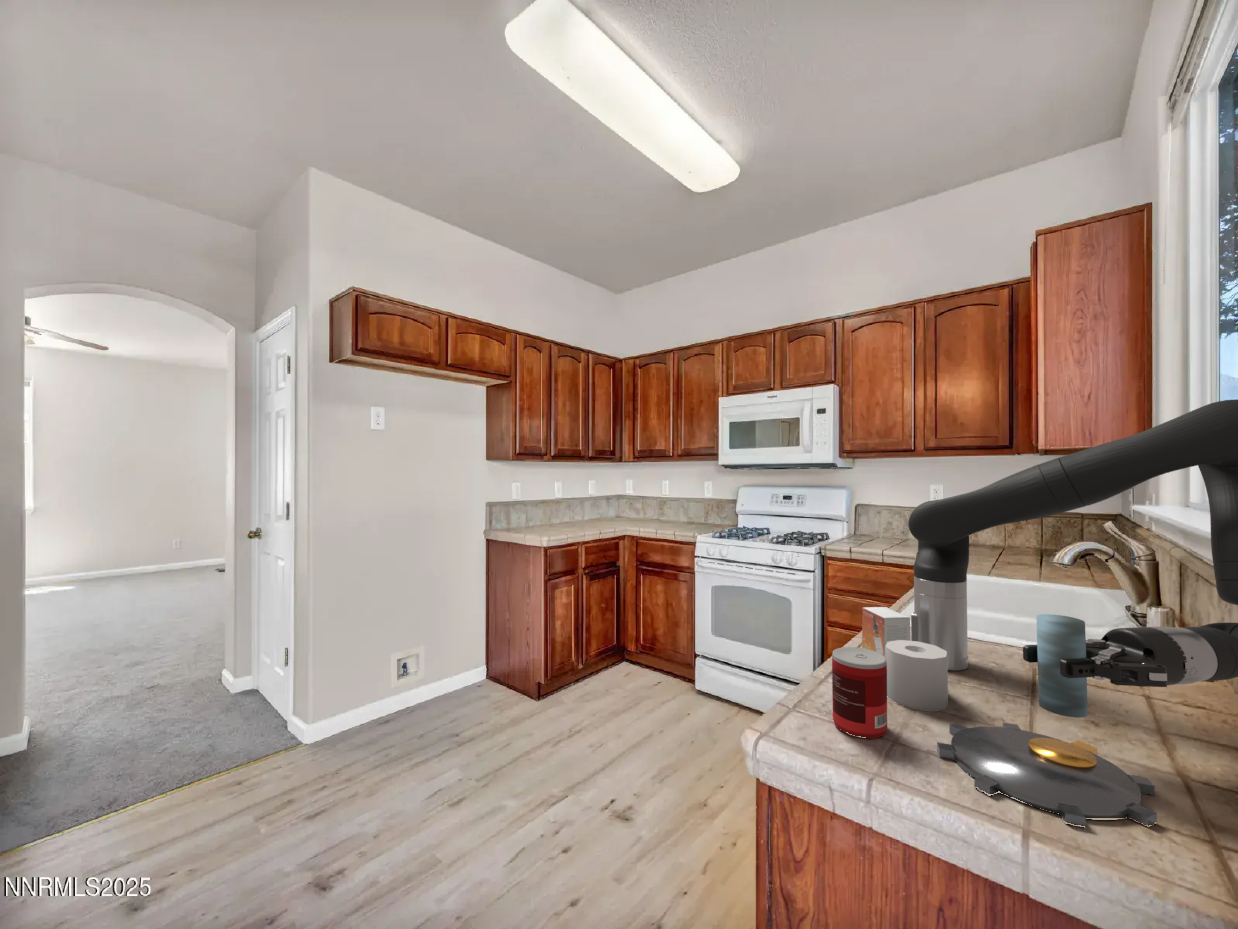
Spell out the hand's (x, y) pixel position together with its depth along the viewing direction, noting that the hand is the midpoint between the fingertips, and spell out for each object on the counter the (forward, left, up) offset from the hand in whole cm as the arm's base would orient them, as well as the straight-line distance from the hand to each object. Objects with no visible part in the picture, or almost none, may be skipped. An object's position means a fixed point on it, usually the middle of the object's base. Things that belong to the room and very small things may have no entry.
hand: (1043, 661), depth 69 cm
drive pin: (+2, +2, -6) cm, 7 cm away
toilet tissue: (-18, +11, -14) cm, 25 cm away
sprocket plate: (-1, -3, -14) cm, 14 cm away
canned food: (-22, -7, -14) cm, 27 cm away
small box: (-28, +24, -14) cm, 39 cm away
